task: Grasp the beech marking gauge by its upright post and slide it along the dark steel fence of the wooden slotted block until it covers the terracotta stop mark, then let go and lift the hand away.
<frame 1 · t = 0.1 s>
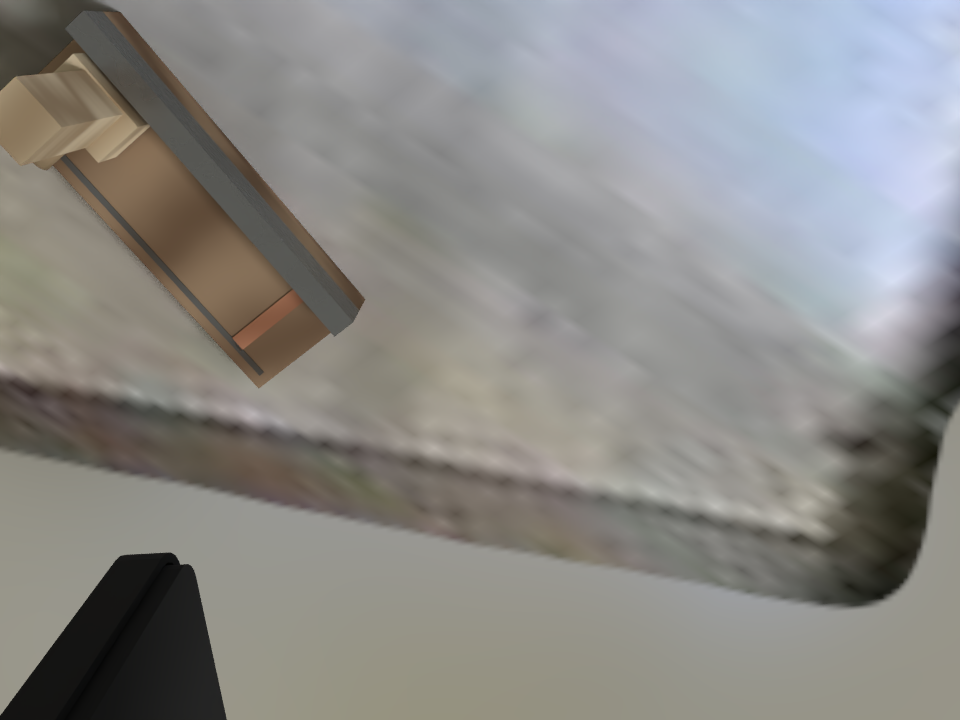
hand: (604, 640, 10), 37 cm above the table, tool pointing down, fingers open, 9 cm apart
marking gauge: (45, 131, 39), point 6 cm above the table, slide at 0.0 cm
wooden slotted block: (199, 205, 46), on the table
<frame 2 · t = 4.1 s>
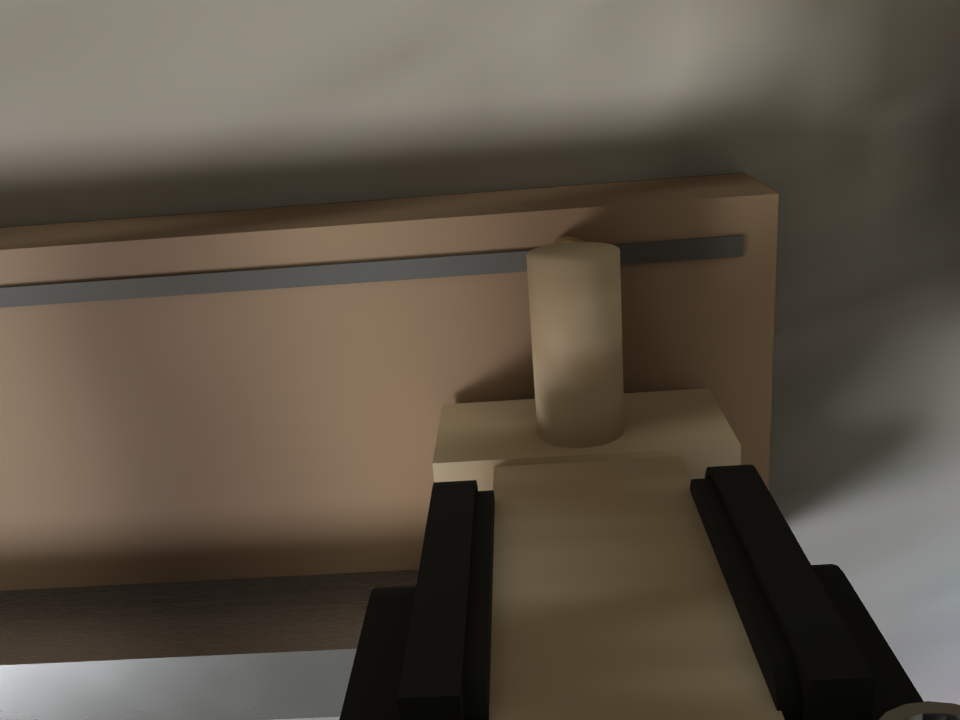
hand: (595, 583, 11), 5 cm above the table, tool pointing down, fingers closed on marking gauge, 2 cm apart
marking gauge: (600, 539, 10), point 6 cm above the table, slide at 0.0 cm, touching gripper
wooden slotted block: (233, 406, 16), on the table
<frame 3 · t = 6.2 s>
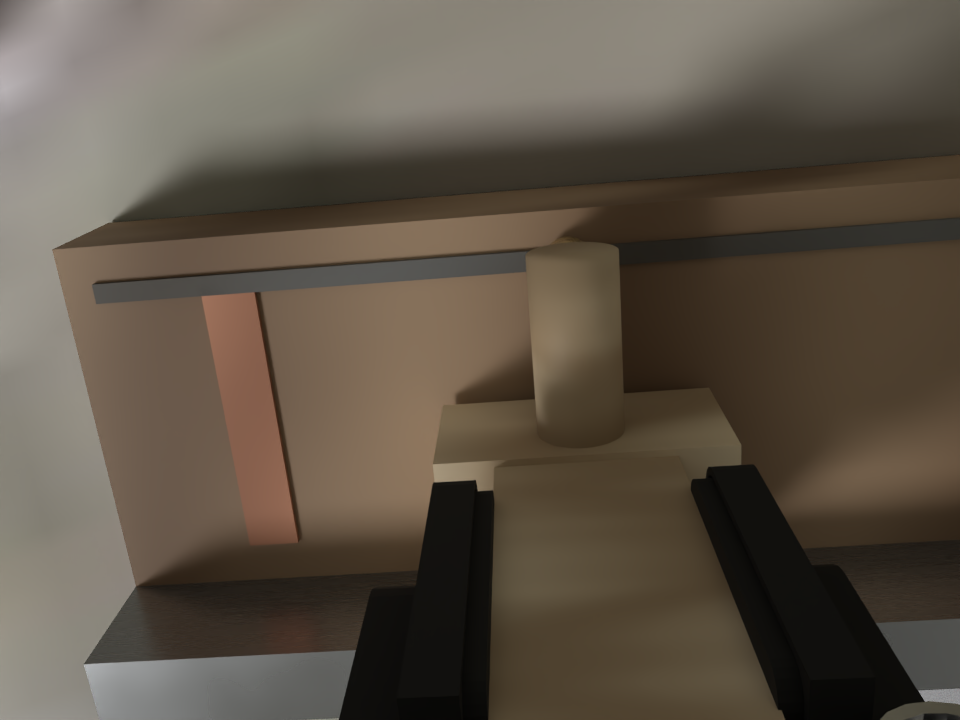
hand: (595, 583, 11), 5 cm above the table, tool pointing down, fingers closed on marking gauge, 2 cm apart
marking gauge: (600, 539, 10), point 6 cm above the table, slide at 7.5 cm, touching gripper
wooden slotted block: (652, 380, 16), on the table
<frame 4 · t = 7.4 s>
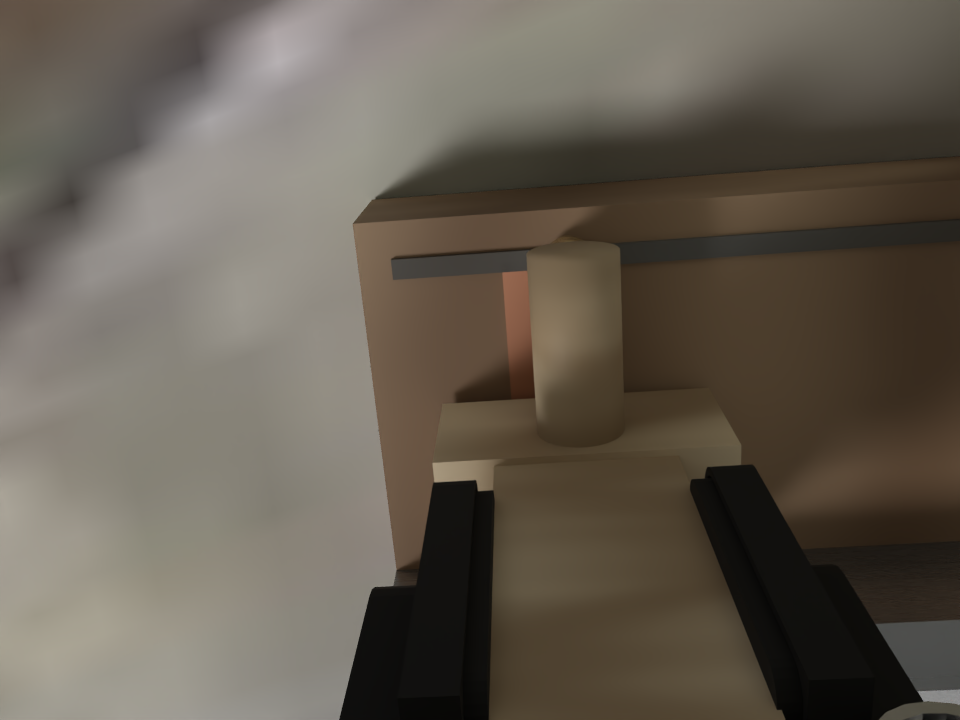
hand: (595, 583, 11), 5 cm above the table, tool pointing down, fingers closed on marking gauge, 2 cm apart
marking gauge: (600, 538, 10), point 6 cm above the table, slide at 11.9 cm, touching gripper
wooden slotted block: (912, 363, 16), on the table
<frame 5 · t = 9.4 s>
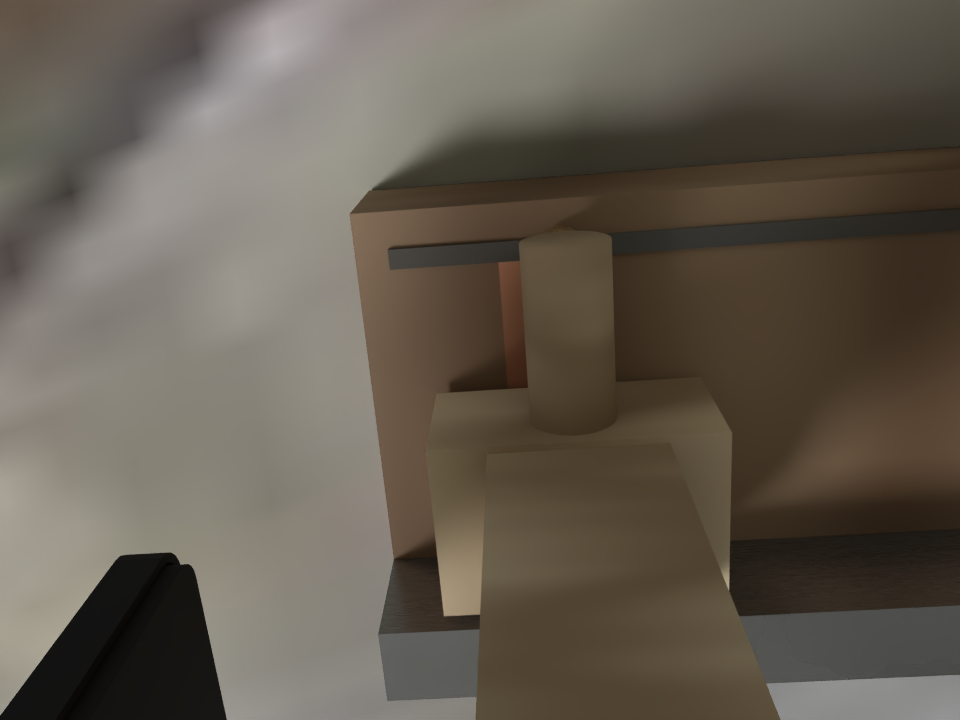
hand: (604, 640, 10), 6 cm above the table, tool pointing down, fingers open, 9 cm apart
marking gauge: (591, 523, 10), point 6 cm above the table, slide at 12.0 cm
wooden slotted block: (906, 353, 16), on the table
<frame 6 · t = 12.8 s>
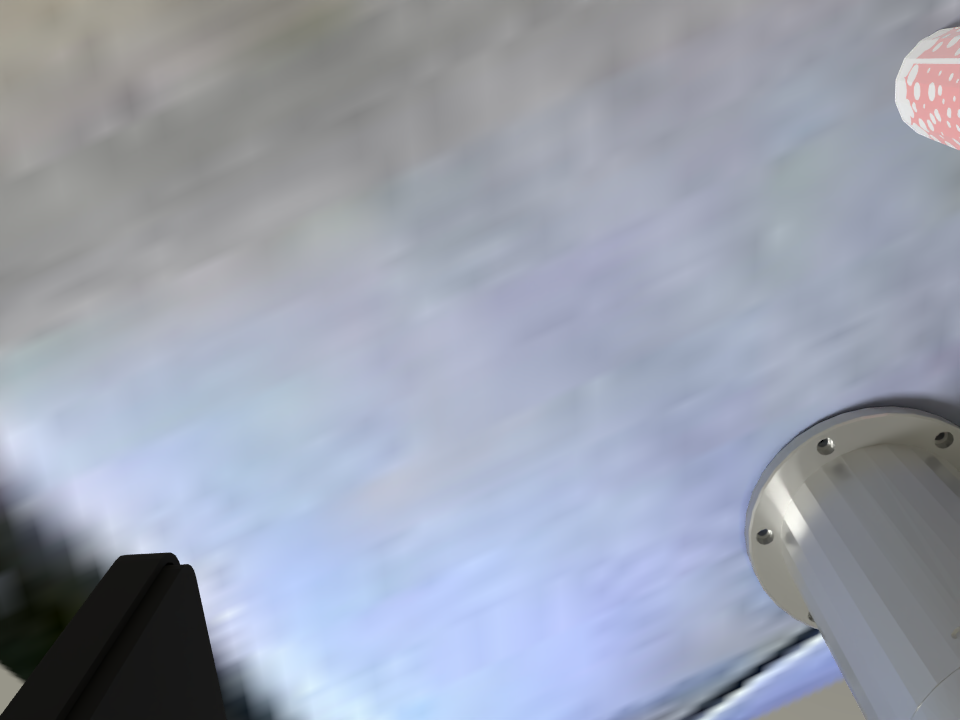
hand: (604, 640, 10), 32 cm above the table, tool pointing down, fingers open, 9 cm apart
beverage cup: (947, 83, 39), on the table
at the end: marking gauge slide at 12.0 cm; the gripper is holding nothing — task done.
